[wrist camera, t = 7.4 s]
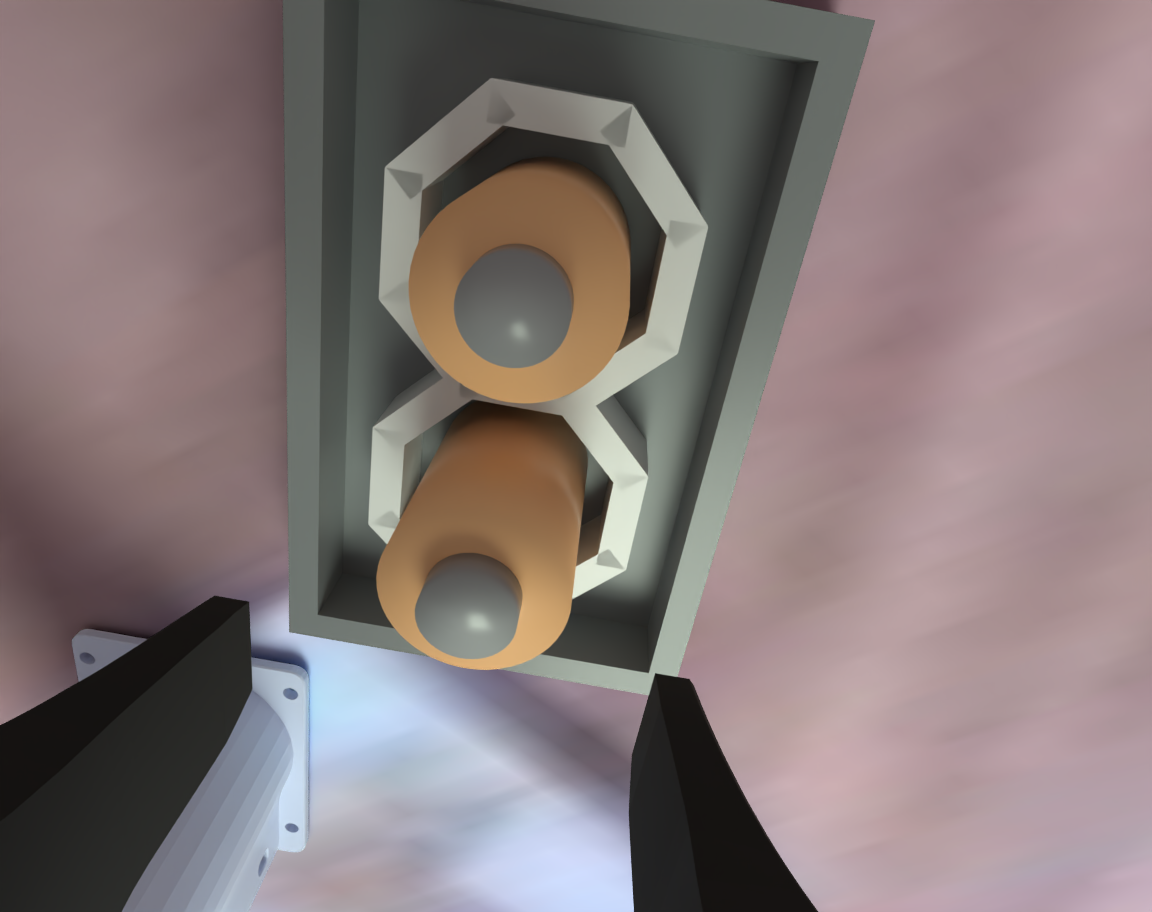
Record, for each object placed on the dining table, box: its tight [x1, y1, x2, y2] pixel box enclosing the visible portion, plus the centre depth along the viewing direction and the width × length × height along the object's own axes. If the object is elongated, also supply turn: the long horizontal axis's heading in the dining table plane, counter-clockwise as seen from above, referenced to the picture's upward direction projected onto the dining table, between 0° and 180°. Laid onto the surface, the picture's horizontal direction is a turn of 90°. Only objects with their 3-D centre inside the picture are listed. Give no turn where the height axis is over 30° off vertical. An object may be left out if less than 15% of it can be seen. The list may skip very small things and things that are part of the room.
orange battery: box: [376, 400, 588, 670], centre depth 18 cm, size 4×4×7 cm
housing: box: [283, 0, 875, 695], centre depth 17 cm, size 17×11×7 cm, turn 171°
